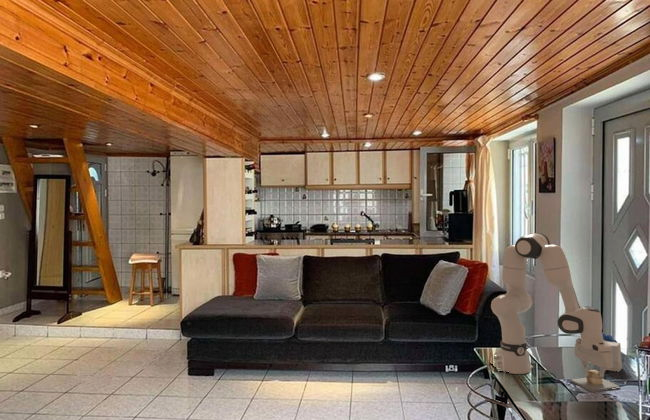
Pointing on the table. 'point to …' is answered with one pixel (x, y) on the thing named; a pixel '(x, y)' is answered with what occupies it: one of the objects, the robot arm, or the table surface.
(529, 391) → the table surface
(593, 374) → the birch block
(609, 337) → the grapes
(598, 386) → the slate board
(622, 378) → the table surface
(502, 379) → the table surface
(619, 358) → the supplement box
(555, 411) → the table surface
